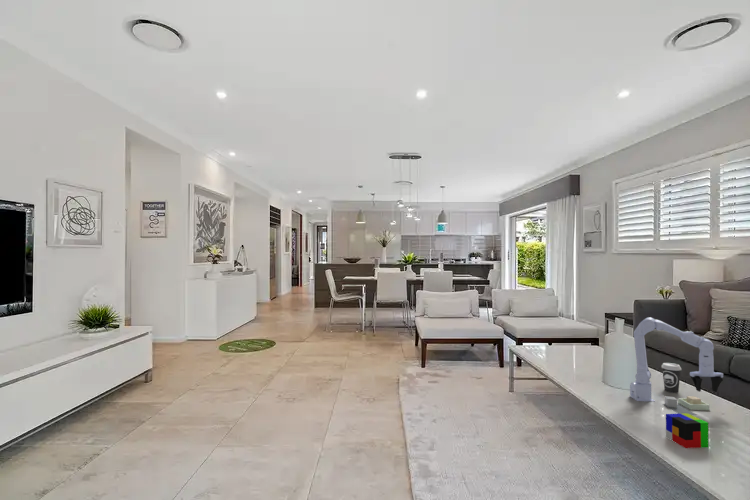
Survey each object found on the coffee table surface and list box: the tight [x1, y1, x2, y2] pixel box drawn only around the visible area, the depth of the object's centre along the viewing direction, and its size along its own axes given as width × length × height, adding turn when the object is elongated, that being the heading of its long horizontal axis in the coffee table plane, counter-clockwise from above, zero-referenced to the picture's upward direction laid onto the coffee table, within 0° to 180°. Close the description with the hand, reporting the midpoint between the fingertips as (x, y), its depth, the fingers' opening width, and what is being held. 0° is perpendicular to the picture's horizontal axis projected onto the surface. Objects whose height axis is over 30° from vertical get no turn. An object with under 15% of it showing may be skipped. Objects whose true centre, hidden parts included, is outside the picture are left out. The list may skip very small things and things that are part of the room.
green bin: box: [677, 397, 710, 411], centre depth 211 cm, size 9×9×3 cm
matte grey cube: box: [664, 395, 678, 408], centre depth 212 cm, size 4×4×4 cm
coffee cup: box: [660, 362, 682, 394], centre depth 237 cm, size 10×10×15 cm
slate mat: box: [662, 403, 697, 416], centre depth 207 cm, size 8×14×1 cm, turn 175°
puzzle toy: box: [665, 413, 709, 449], centre depth 172 cm, size 10×10×10 cm
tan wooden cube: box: [686, 395, 702, 404], centre depth 211 cm, size 4×4×4 cm
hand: (706, 391), depth 206 cm, fingers open, 7 cm apart
